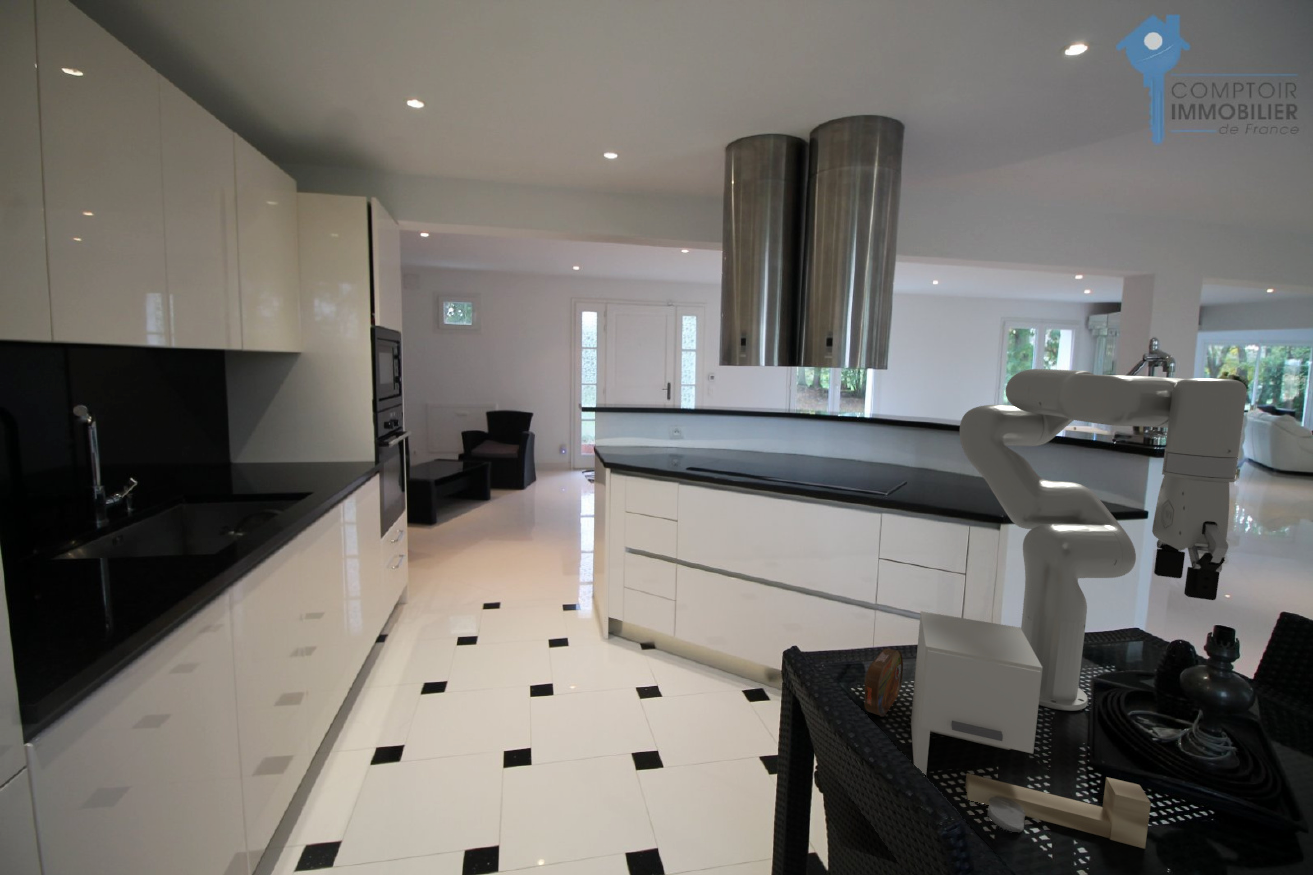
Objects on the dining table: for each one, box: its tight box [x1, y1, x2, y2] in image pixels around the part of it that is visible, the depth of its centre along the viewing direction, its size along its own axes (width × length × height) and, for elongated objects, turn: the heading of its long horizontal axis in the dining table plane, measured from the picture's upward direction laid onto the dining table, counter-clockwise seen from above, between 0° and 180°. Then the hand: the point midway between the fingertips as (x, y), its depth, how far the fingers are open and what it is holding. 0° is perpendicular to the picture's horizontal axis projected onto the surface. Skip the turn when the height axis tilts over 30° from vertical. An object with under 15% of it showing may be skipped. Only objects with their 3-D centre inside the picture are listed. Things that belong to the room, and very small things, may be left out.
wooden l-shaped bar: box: [965, 773, 1152, 849], centre depth 77 cm, size 4×19×6 cm, turn 68°
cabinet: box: [910, 611, 1043, 776], centre depth 86 cm, size 16×14×19 cm
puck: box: [987, 796, 1026, 834], centre depth 76 cm, size 4×4×2 cm
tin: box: [863, 648, 904, 717], centre depth 103 cm, size 15×3×8 cm, turn 143°
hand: (1182, 586), depth 84 cm, fingers open, 9 cm apart
